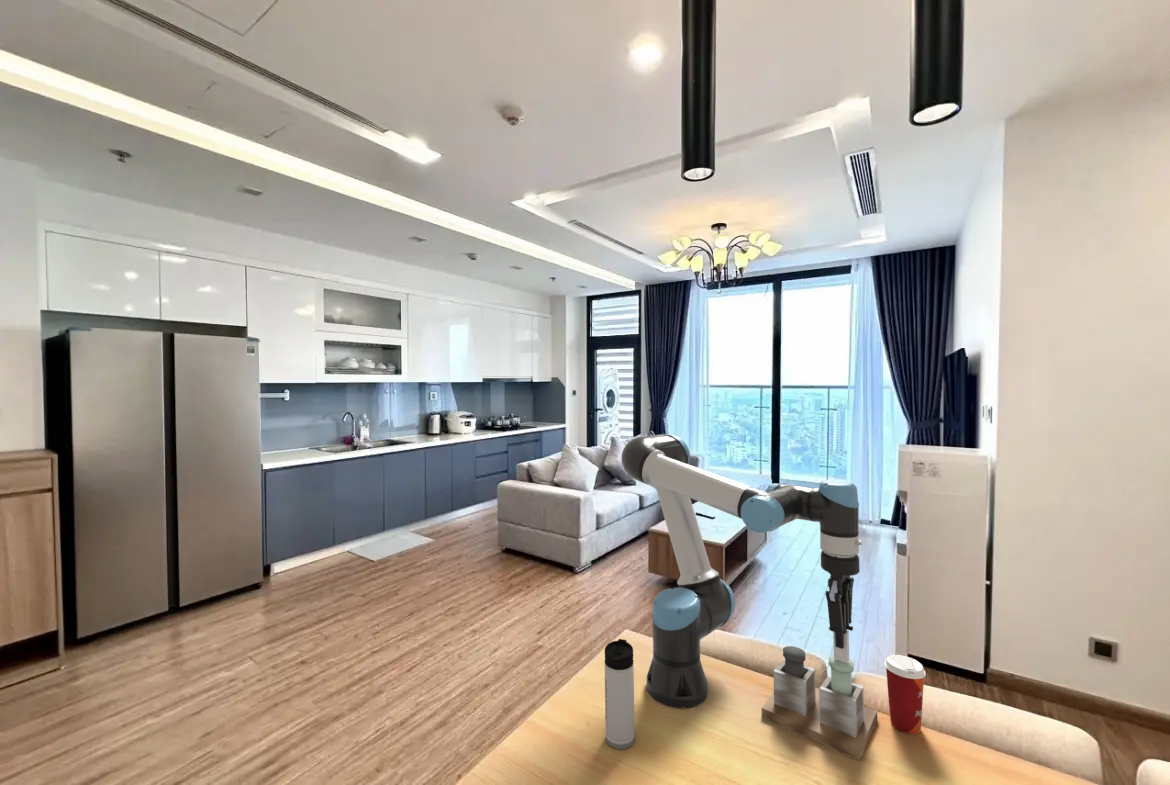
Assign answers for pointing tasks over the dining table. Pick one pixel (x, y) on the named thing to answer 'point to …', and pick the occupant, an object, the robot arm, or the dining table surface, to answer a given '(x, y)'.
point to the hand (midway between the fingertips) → (841, 660)
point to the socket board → (821, 711)
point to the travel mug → (619, 694)
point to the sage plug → (841, 676)
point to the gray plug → (794, 661)
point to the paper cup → (905, 692)
